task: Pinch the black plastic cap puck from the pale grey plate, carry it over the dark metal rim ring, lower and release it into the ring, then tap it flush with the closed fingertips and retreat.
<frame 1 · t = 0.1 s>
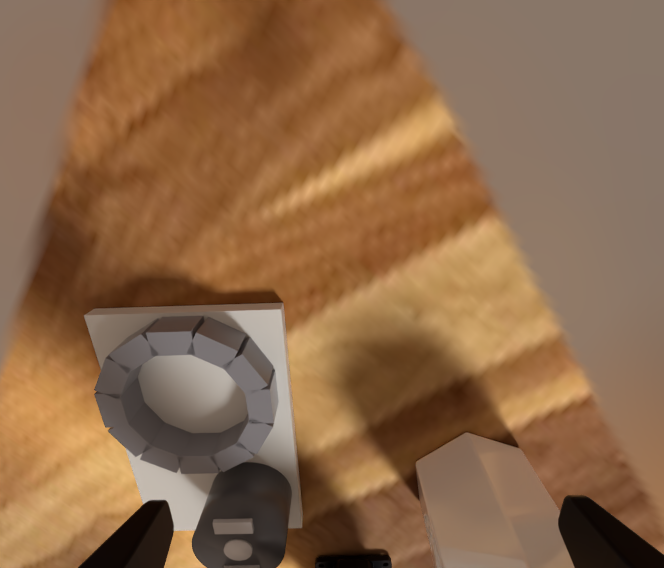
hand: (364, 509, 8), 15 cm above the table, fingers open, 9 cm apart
jar: (467, 473, 27), on the table
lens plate: (211, 425, 26), on the table
cap: (252, 492, 27), point 1 cm above the table, touching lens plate
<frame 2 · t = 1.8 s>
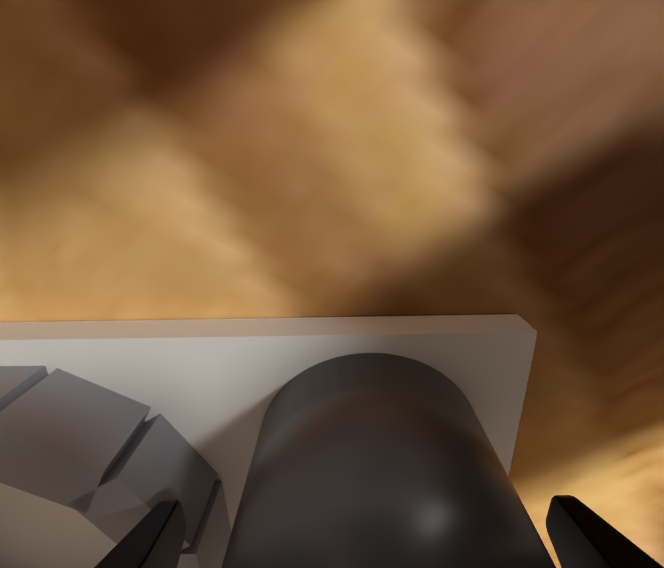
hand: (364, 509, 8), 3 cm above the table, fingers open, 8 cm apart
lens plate: (199, 482, 12), on the table
cap: (368, 446, 10), point 1 cm above the table, touching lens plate
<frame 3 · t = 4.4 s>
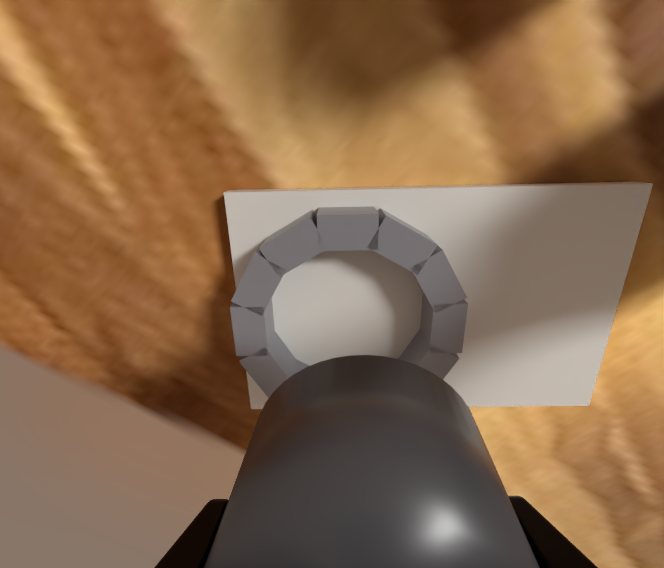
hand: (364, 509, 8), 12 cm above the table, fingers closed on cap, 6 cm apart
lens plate: (421, 302, 19), on the table
cap: (364, 450, 10), point 10 cm above the table, touching gripper
when the fingers open (4 cm above the table, at t = 6.2 s): cap drops 1 cm, resting on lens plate.
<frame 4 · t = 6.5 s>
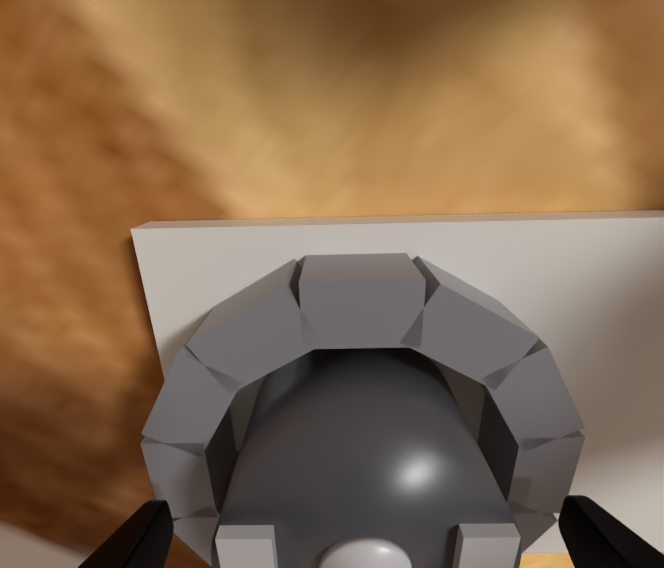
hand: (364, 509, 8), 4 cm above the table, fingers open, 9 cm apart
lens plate: (476, 398, 12), on the table
cap: (353, 420, 11), point 1 cm above the table, touching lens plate
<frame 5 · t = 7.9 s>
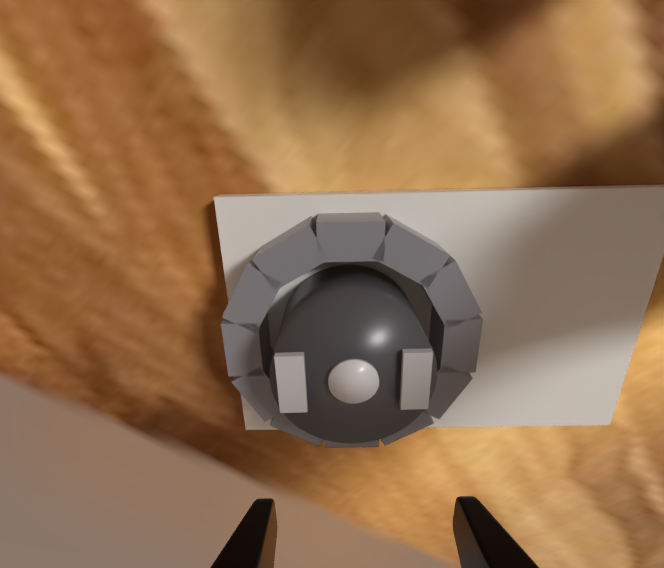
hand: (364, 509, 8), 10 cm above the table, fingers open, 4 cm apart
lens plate: (430, 315, 17), on the table
cap: (348, 326, 16), point 1 cm above the table, touching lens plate
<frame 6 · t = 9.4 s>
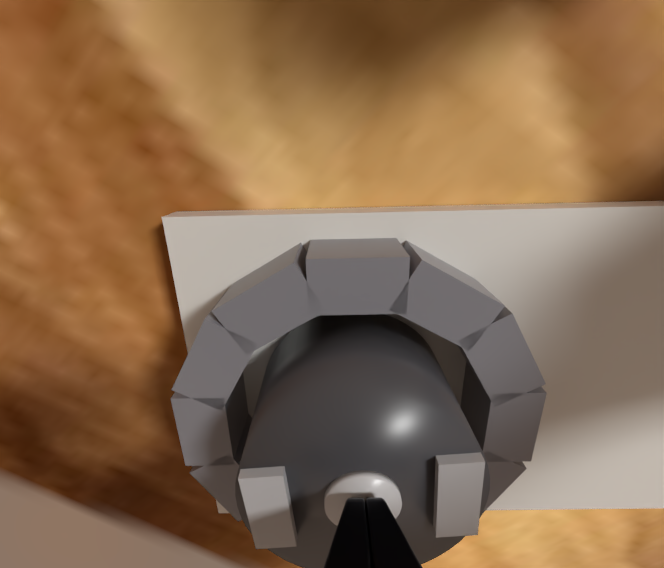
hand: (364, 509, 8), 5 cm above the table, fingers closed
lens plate: (460, 369, 13), on the table
cap: (352, 388, 12), point 1 cm above the table, touching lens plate
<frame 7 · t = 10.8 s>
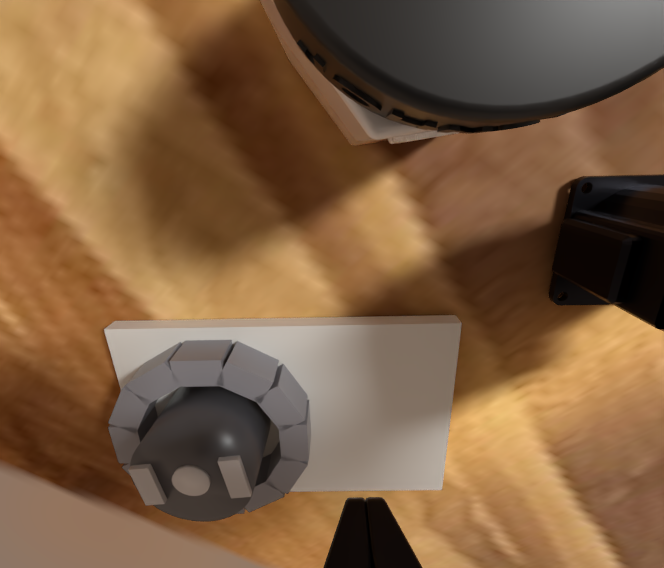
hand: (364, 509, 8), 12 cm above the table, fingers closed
jar: (391, 41, 15), on the table
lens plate: (291, 405, 22), on the table
cap: (219, 418, 21), point 1 cm above the table, touching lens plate
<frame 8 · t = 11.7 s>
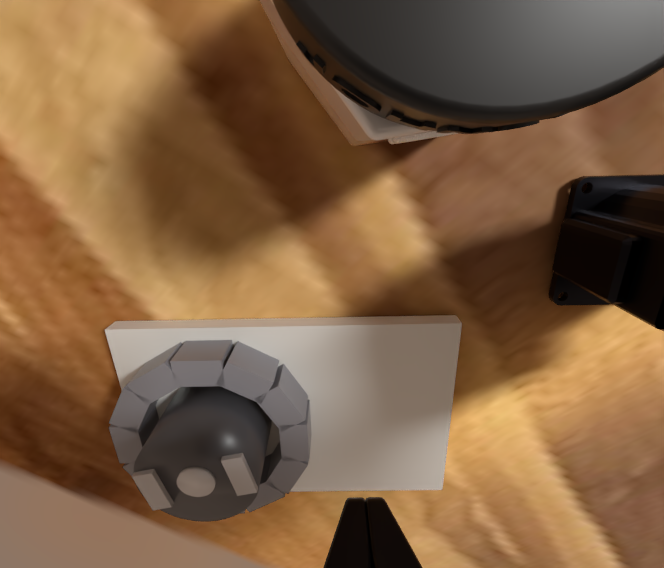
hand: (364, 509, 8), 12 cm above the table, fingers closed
jar: (391, 41, 15), on the table
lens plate: (291, 405, 22), on the table
cap: (220, 419, 21), point 1 cm above the table, touching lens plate
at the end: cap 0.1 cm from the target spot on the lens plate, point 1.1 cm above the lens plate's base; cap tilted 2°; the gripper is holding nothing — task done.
